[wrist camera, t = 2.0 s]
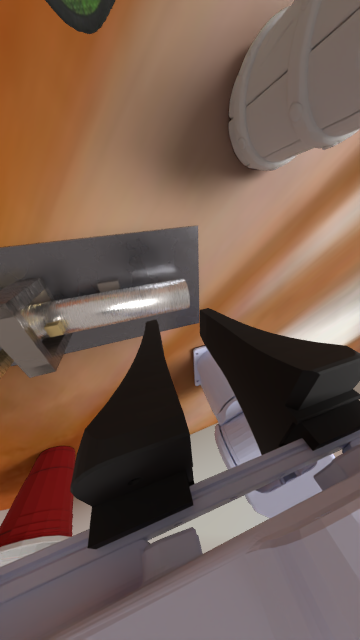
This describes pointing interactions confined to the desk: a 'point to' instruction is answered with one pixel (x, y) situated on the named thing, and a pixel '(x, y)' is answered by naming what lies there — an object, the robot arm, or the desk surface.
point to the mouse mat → (82, 13)
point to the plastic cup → (40, 507)
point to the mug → (298, 84)
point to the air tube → (106, 308)
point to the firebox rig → (89, 288)
